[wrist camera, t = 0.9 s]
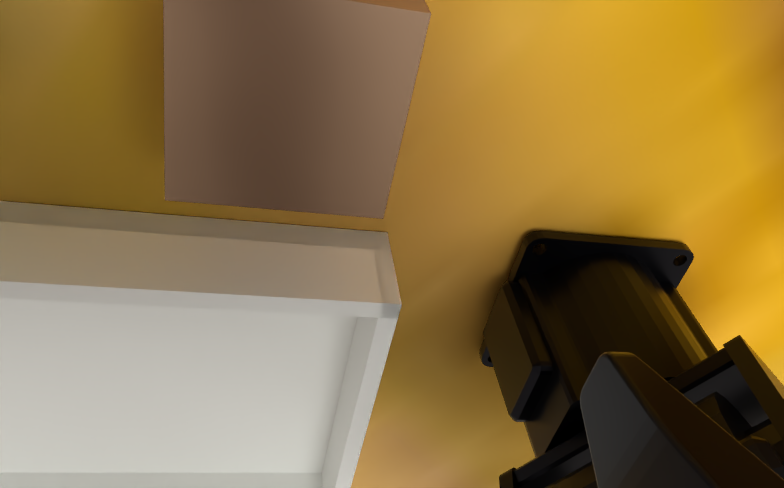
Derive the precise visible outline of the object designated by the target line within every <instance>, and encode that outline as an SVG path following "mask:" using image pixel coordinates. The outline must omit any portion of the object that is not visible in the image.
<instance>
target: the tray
mask: <svg viewBox="0 0 784 488" xmlns="http://www.w3.org/2000/svg"><path fill="white" fill-rule="evenodd" d="M401 305H402V303H401V298H400V293H399V288H398V283H397V278H396V273H395V268H394V263H393V258H392V253H391V248H390V243H389V238H388V233H387V232H376V231H364V230H351V229H339V228H327V227H315V226H302V225H290V224H278V223H265V222H253V221H241V220H229V219H216V218H204V217H192V216H179V215H167V214H155V213H143V212H130V211H118V210H106V209H94V208H81V207H69V206H57V205H44V204H32V203H20V202H8V201H0V488H351V484H352V480H353V477H354V473H355V470H356V466H357V463H358V459H359V455H360V452H361V448H362V445H363V441H364V438H365V434H366V430H367V427H368V423H369V420H370V416H371V413H372V409H373V405H374V402H375V398H376V395H377V391H378V388H379V384H380V380H381V377H382V373H383V370H384V366H385V363H386V359H387V355H388V352H389V348H390V345H391V341H392V338H393V334H394V330H395V327H396V323H397V320H398V316H399V313H400V309H401Z"/></svg>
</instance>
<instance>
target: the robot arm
mask: <svg viewBox="0 0 784 488" xmlns="http://www.w3.org/2000/svg"><path fill="white" fill-rule="evenodd" d="M537 244H542V245H541V246H539V247H538V248H534V246H536V245H537ZM678 256H679V257H678ZM676 257H678V258H676ZM675 258H676V259H675ZM693 258H694V256H693V253H692V252H691V250H690V249H689V248H688V246H687V245H686V244H683V243H676V242H665V241H653V240H641V239H630V238H618V237H607V236H595V235H584V234H572V233H560V232H549V231H535V232H532V233H530V234H529V235H527V236H526V237H525V239H524V240H523V242H522V245H521V247H520V250H519V252H518V255H517V257H516V260H515V262H514V265H513V267H512V270H511V272H510V275H509V277H508V280H507V281H506V282H505V283H504V284H503V285H502V286H501V288H500V290H499V293H498V295H497V298H496V300H495V303H494V305H493V308H492V311H491V313H490V316H489V318H488V321H487V323H486V326H485V328H484V331H483V335H484V340H483V343H482V346H481V348H480V352H479V354H480V358H481V361H482V363H483V364H484V365H485V366H489V367H494V370H495V373H496V376H497V379H498V382H499V385H500V388H501V392H502V395H503V398H504V401H505V404H506V407H507V410H508V413H509V415H510V417H511V418H512V419H513V420H514V421H516V422H524V424H525V427H526V430H527V433H528V436H529V439H530V442H531V445H532V448H533V451H534V454H535V457H536V458H535V459H533V460H531V461H529V462H528V463H526V464H524V465H523V466H521V467H519V468H517V469H516V468H512V469H510V470H508V471H507V472H505V473H503V474H502V475H500V476H499V482H500V488H784V385H783V384H782V383H781V382H780V381H779V380H778V379H777V377H776V376H775V375H774V374H773V373H772V372H771V370H770V369H769V368H768V367H767V366H766V365H765V363H764V362H763V361H762V360H761V359H760V358H759V357H758V355H757V354H756V353H755V352H754V351H753V350H752V348H751V347H750V346H749V345H748V344H747V343H746V341H745V340H744V339H743V338H742V337H741V336H740V335H739V336H737V337H735V338H733V339H732V340H730V341H728V342H727V343H725V344H723V346H724V347H725V348H723V349H721V350H719V351H717V349H716V348H715V346H714V345H713V343H712V342H711V340H710V339H709V337H708V336H707V334H706V333H705V331H704V330H703V328H702V327H701V325H700V324H699V322H698V321H697V319H696V318H695V317H694V315H693V314H692V312H691V311H690V309H689V308H688V306H687V305H686V303H685V302H684V300H683V299H682V297H681V296H680V294H679V293H678V291H677V290H676V288H677V286H678V284H679V283H680V281H681V279H682V278H683V276H684V274H685V273H686V271H687V269H688V268H689V266H690V264H691V263H692V261H693Z"/></svg>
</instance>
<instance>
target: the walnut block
mask: <svg viewBox="0 0 784 488" xmlns="http://www.w3.org/2000/svg"><path fill="white" fill-rule="evenodd" d="M163 3H164V151H165V200H169V201H181V202H192V203H204V204H216V205H228V206H239V207H251V208H263V209H275V210H286V211H298V212H310V213H322V214H333V215H345V216H357V217H369V218H380V219H383V217H384V213H385V209H386V205H387V200H388V196H389V192H390V187H391V183H392V179H393V175H394V170H395V166H396V162H397V157H398V153H399V149H400V145H401V140H402V136H403V132H404V127H405V123H406V119H407V115H408V110H409V106H410V102H411V97H412V93H413V89H414V84H415V80H416V76H417V72H418V67H419V63H420V59H421V54H422V50H423V46H424V42H425V37H426V33H427V29H428V24H429V20H430V16H431V12H430V10H429V8H428V6H427V4H426V2H425V0H163Z"/></svg>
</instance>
